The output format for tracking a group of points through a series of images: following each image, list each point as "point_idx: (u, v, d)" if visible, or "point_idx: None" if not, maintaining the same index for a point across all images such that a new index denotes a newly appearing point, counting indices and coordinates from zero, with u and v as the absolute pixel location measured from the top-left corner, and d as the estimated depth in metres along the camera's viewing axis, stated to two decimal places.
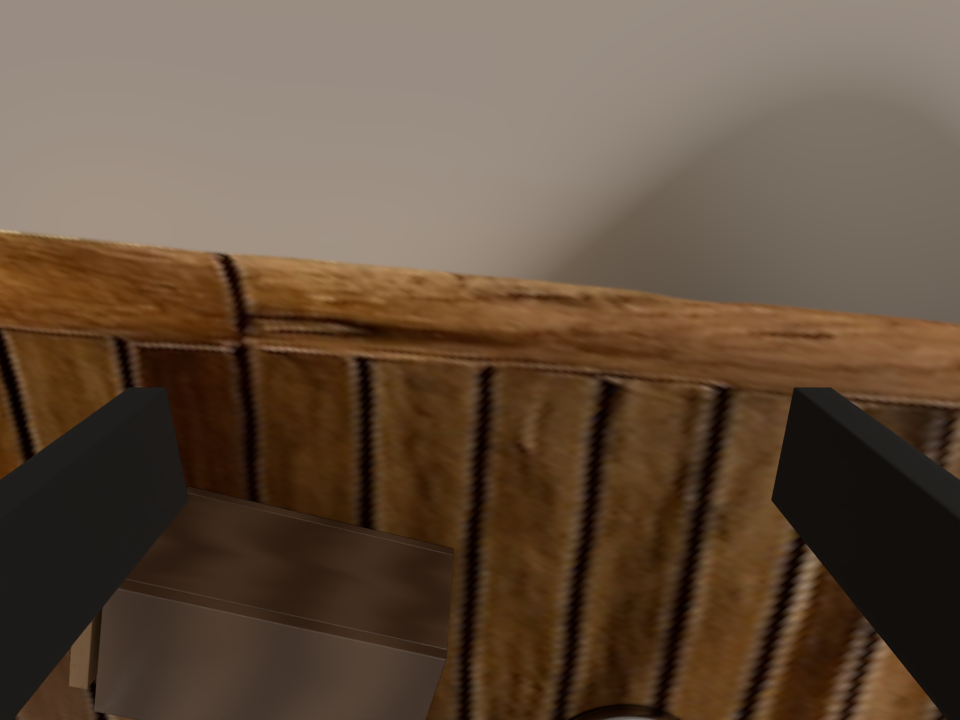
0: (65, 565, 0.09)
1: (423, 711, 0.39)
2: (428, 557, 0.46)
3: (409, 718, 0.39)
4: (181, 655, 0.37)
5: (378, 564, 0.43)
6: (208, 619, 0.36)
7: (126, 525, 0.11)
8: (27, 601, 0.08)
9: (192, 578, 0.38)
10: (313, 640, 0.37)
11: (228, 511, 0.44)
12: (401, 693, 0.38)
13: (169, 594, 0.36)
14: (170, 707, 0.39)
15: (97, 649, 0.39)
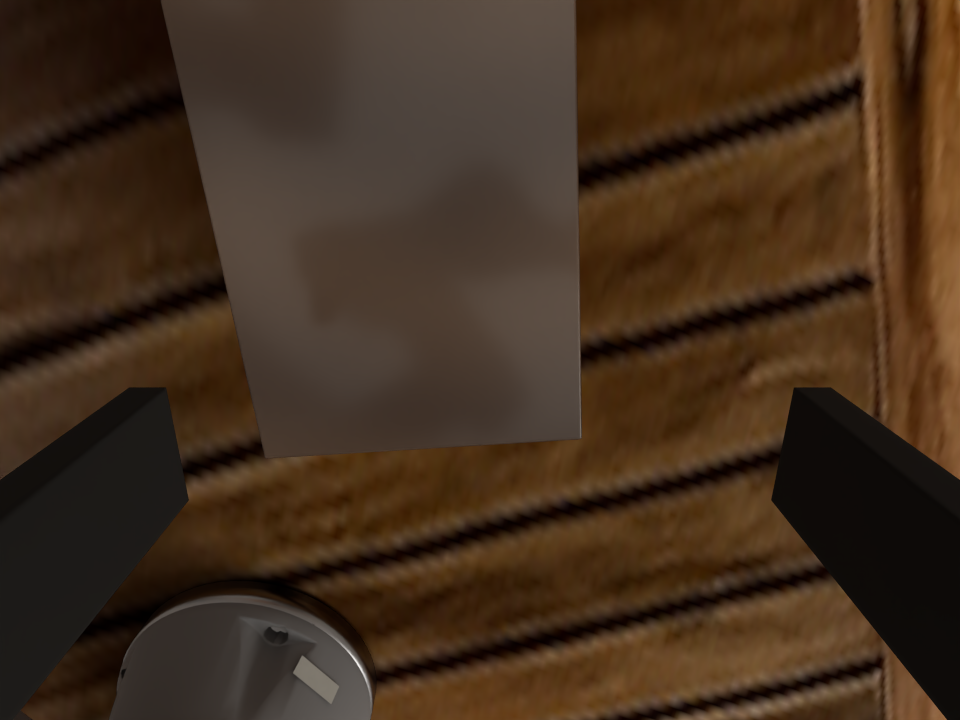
0: (64, 564, 0.09)
1: (440, 440, 0.20)
2: None
3: (411, 421, 0.20)
4: None
5: None
6: None
7: (126, 525, 0.11)
8: (27, 601, 0.08)
9: None
10: (552, 180, 0.17)
11: None
12: (471, 389, 0.19)
13: None
14: None
15: None
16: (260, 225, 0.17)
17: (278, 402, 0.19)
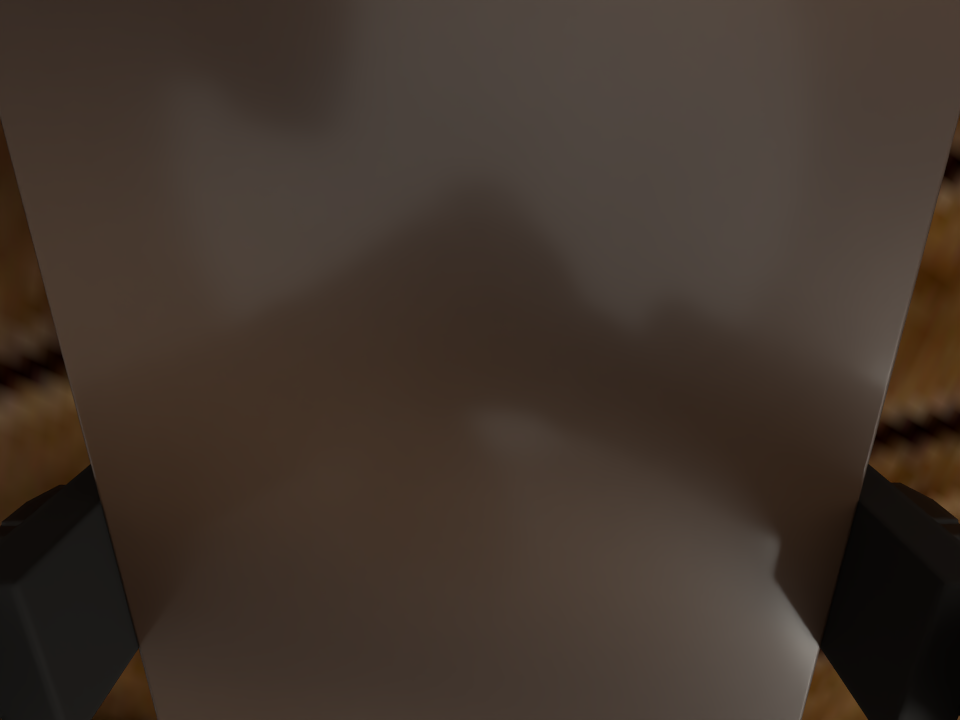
0: None
1: None
2: None
3: (465, 705, 0.10)
4: None
5: None
6: None
7: None
8: None
9: None
10: (861, 259, 0.07)
11: None
12: (595, 657, 0.09)
13: None
14: None
15: None
16: (165, 310, 0.07)
17: (194, 658, 0.09)
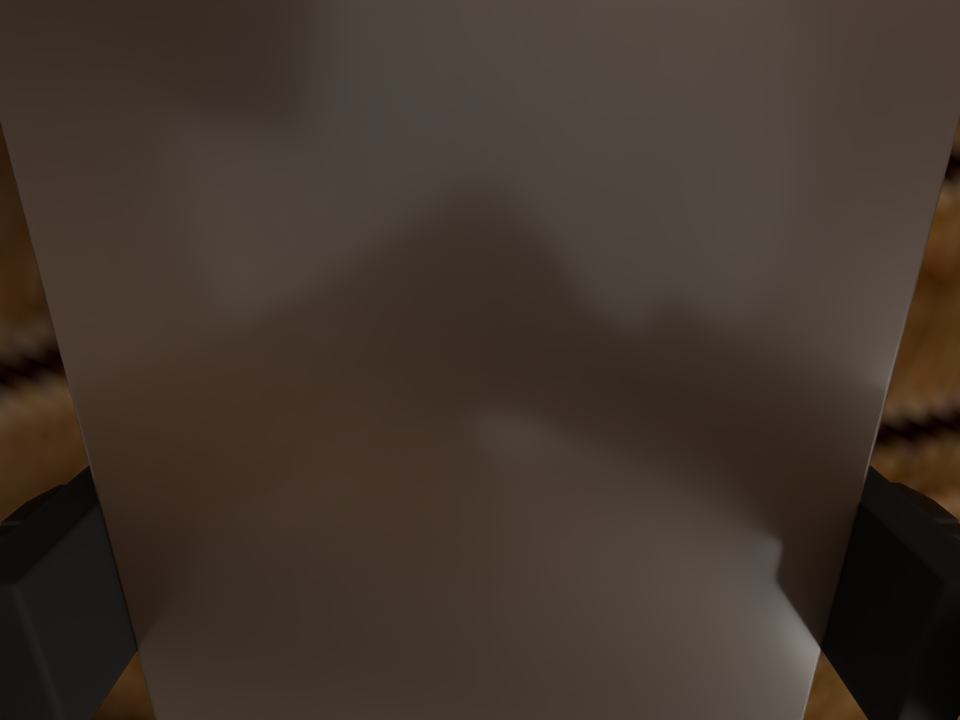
0: None
1: None
2: None
3: (465, 707, 0.10)
4: None
5: None
6: None
7: None
8: None
9: None
10: (863, 259, 0.07)
11: None
12: (596, 660, 0.09)
13: None
14: None
15: None
16: (162, 311, 0.07)
17: (193, 660, 0.09)
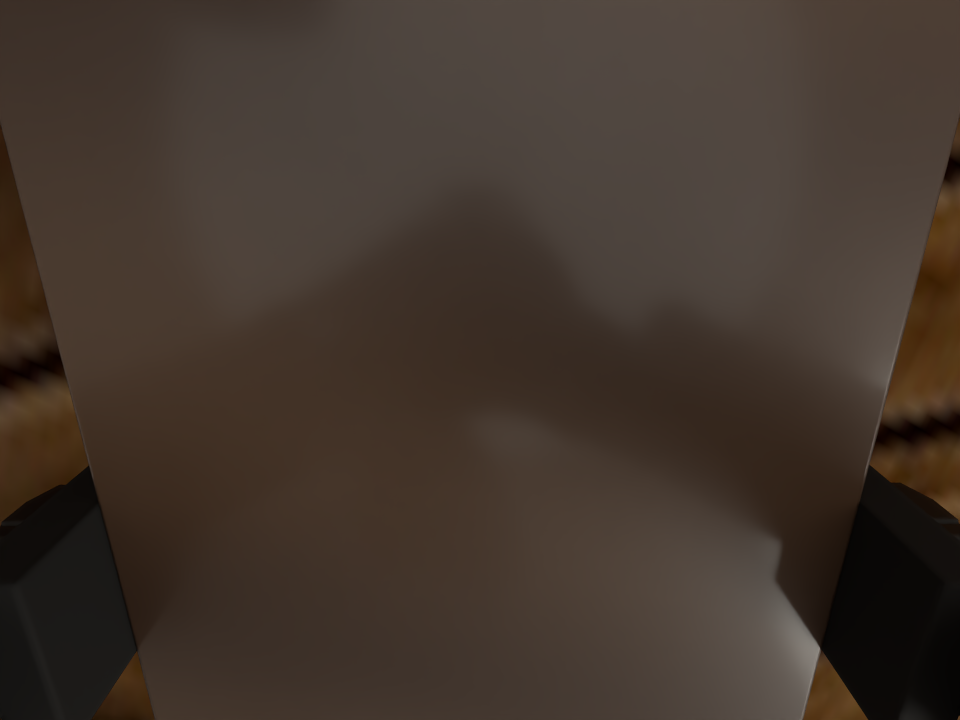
0: None
1: None
2: None
3: (465, 707, 0.10)
4: None
5: None
6: None
7: None
8: None
9: None
10: (862, 259, 0.07)
11: None
12: (596, 659, 0.09)
13: None
14: None
15: None
16: (162, 311, 0.07)
17: (193, 660, 0.09)
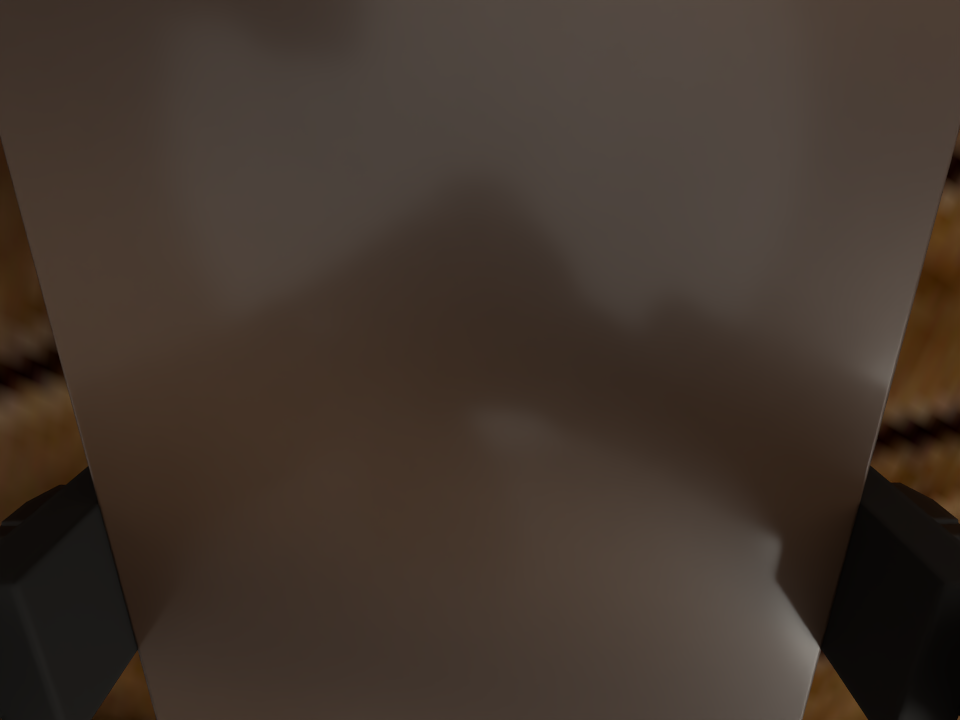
0: None
1: None
2: None
3: (466, 706, 0.10)
4: None
5: None
6: None
7: None
8: None
9: None
10: (864, 260, 0.07)
11: None
12: (596, 659, 0.09)
13: None
14: None
15: None
16: (161, 312, 0.07)
17: (194, 660, 0.09)
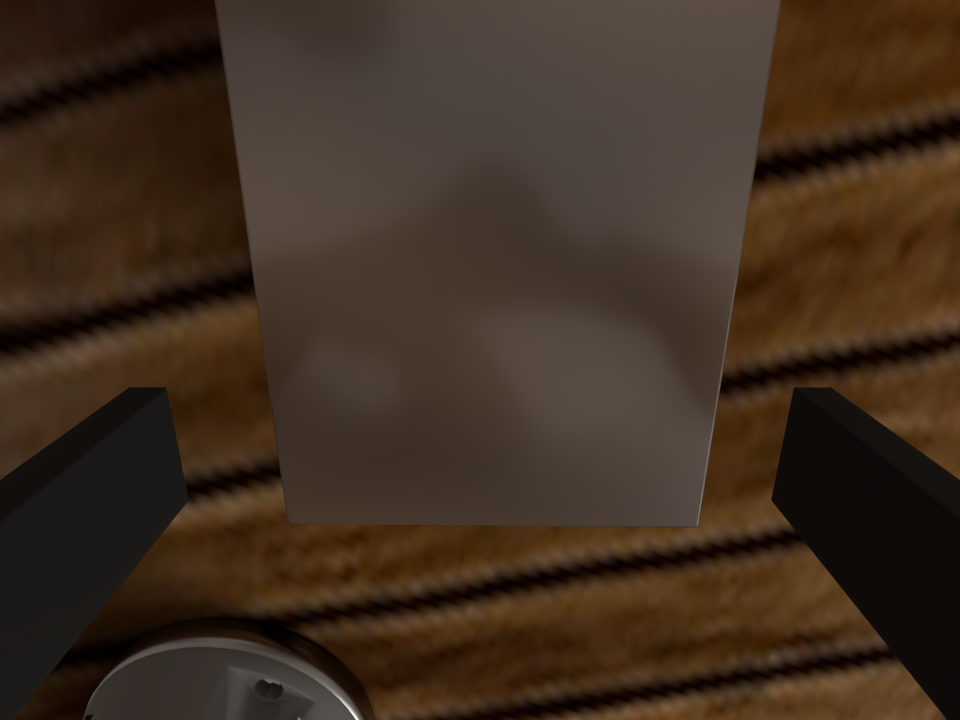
0: (64, 565, 0.09)
1: (517, 516, 0.15)
2: None
3: (483, 492, 0.15)
4: None
5: None
6: None
7: (126, 525, 0.11)
8: (27, 601, 0.08)
9: None
10: (715, 195, 0.12)
11: None
12: (566, 457, 0.15)
13: None
14: None
15: None
16: (311, 225, 0.13)
17: (312, 456, 0.15)
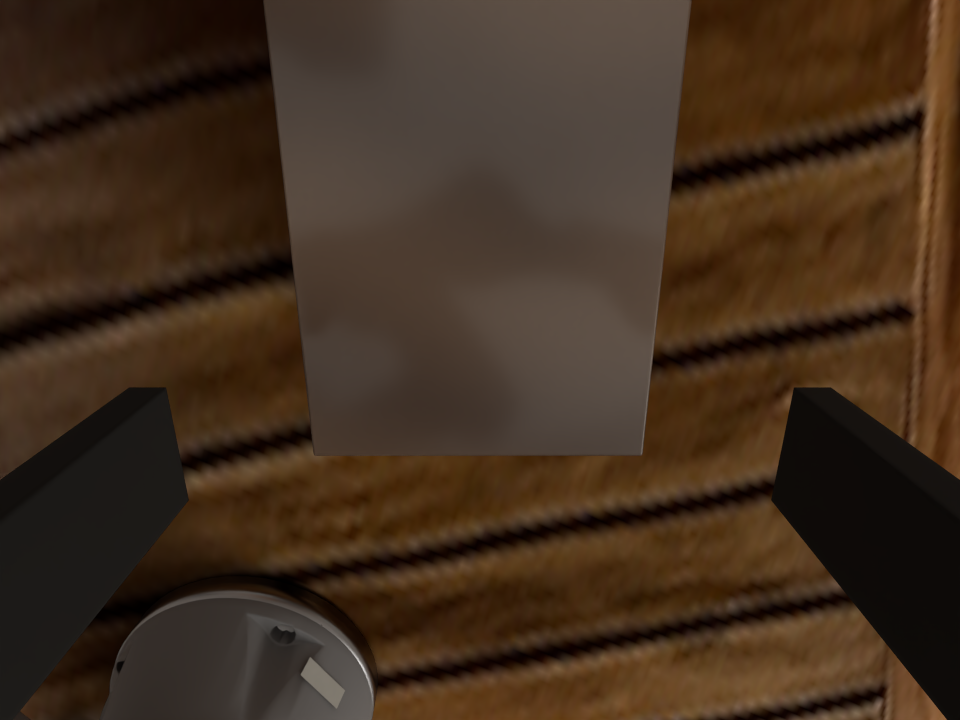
0: (64, 565, 0.09)
1: (498, 448, 0.19)
2: None
3: (471, 427, 0.19)
4: None
5: None
6: None
7: (126, 525, 0.11)
8: (27, 601, 0.08)
9: None
10: (644, 190, 0.16)
11: None
12: (536, 398, 0.19)
13: None
14: None
15: None
16: (337, 214, 0.17)
17: (334, 398, 0.19)
